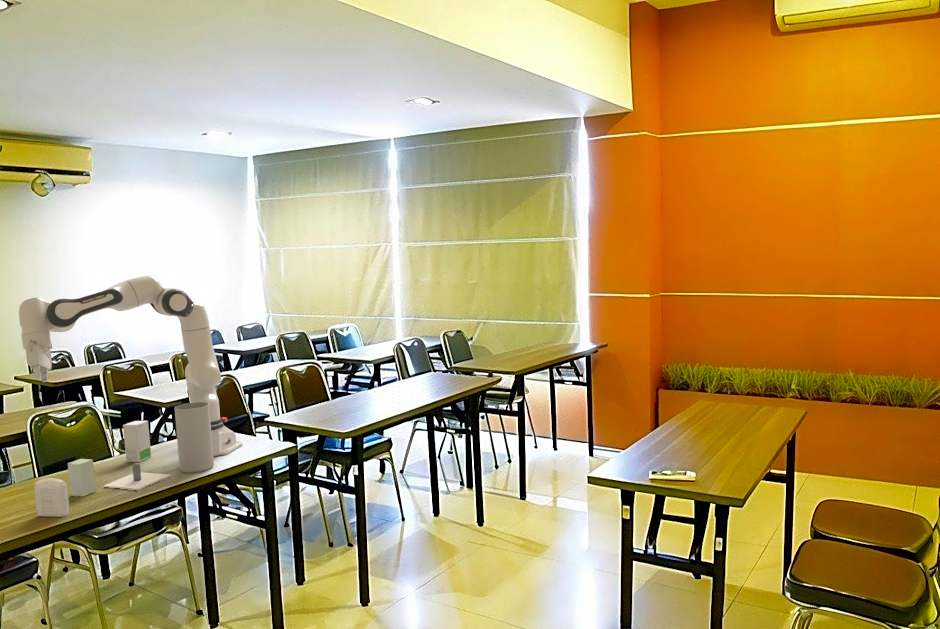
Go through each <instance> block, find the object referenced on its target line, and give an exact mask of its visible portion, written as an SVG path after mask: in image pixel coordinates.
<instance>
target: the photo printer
mask: <svg viewBox="0 0 940 629" xmlns="http://www.w3.org/2000/svg"><path fill="white" fill-rule="evenodd" d="M68 490H69V489H68V483H67V482H66V481H65V480H64V479H60V478H55V477H49V478H41V479H39V480H37V481H36V482H35V484H34V498H35V499H34V500H35V508H36V510H35V511H36V516H37V517H53V518H54V517H55V518H57V517H58V518H59V517H60V518H61V517H62V518H63V517H64V518H65V517H67V516H68V515H69V513H70V502H69V500H70V499H69V491H68Z"/></svg>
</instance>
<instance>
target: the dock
mask: <svg viewBox="0 0 940 629" xmlns="http://www.w3.org/2000/svg"><path fill="white" fill-rule="evenodd" d="M168 477H169V478H171V474H167V473H166V474H165V473H164V474H163V473H154V472H153V473H152V472H142V471H141V464H140V462H133V464H132V473H131V474H129V475H126V476H124V477H121V478H119V479H115V480H114V481H112V482H108V483H107V484H103V488H104V487H109V488H108V489H113V488H120V489H119V490H123V489H128V490H127V491H134V490H137V491H136V492H138V490H139V491H142V490H143V488H144V489H146V488H148V487H150V486H149V485H151V486H153V485H155V484H157V483H159V482H158V481H160V482H161V480H162V481H164V480H166V478H167V479H169V478H168ZM163 479H164V480H163ZM156 482H157V483H156ZM154 483H155V484H154ZM152 484H153V485H152ZM147 486H148V487H147ZM145 487H146V488H145Z"/></svg>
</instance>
